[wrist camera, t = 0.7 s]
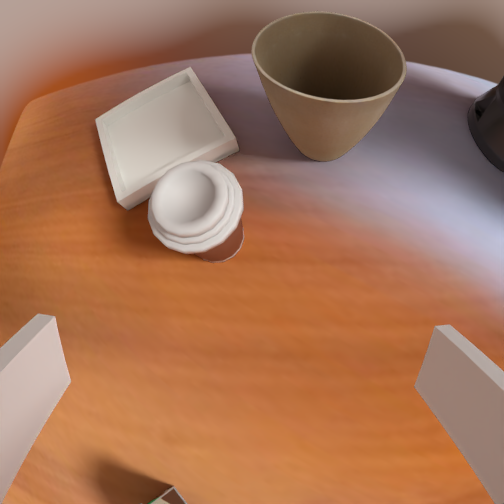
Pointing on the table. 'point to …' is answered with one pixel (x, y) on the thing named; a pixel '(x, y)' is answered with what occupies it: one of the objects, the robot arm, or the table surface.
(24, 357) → the robot arm
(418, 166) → the table surface
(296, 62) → the plant pot
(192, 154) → the tray
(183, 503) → the food container
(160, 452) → the table surface
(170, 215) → the coffee cup
